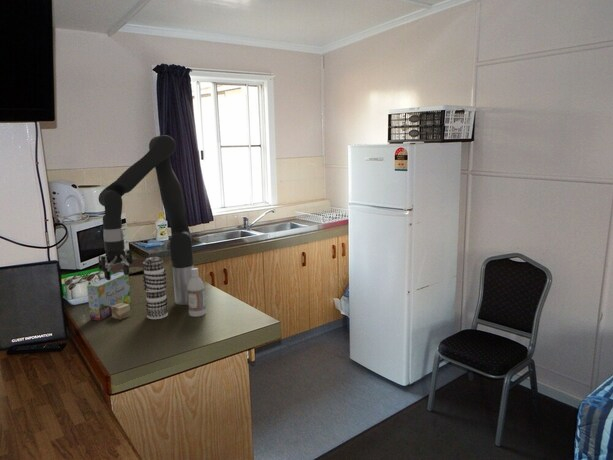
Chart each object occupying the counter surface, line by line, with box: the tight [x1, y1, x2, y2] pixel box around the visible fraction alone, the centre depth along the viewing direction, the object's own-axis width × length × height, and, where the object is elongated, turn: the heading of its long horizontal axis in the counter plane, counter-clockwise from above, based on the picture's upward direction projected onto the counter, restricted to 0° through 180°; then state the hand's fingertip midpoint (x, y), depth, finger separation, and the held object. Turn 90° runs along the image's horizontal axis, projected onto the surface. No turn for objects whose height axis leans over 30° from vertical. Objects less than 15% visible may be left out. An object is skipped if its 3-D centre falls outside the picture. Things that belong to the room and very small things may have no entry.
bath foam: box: [187, 267, 207, 317], centre depth 184 cm, size 7×7×20 cm
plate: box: [110, 257, 148, 275], centre depth 258 cm, size 28×28×4 cm
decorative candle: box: [142, 256, 169, 320], centre depth 182 cm, size 9×9×25 cm
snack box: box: [86, 271, 131, 322], centre depth 189 cm, size 21×6×15 cm, turn 168°
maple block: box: [111, 303, 131, 321], centre depth 184 cm, size 5×5×5 cm
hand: (117, 277), depth 181 cm, fingers open, 8 cm apart
